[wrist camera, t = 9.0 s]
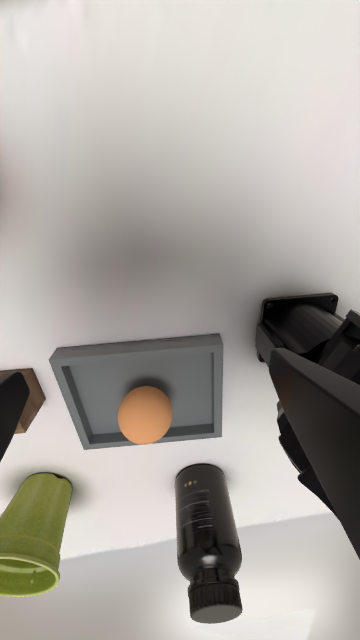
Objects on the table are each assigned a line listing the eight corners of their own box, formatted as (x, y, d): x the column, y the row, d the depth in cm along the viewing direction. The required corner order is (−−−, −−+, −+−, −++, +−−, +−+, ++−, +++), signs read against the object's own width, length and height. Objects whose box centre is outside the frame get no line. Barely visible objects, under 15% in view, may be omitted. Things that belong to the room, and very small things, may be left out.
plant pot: (28, 509, 33) (-14, 602, 26) (-4, 469, 29) (-66, 566, 21) (93, 500, 33) (71, 591, 25) (71, 458, 29) (36, 552, 21)
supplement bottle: (232, 481, 33) (264, 616, 22) (189, 497, 34) (200, 632, 23) (211, 455, 30) (236, 595, 19) (165, 473, 31) (164, 615, 21)
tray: (218, 334, 22) (223, 344, 20) (218, 423, 27) (221, 437, 26) (57, 348, 22) (48, 359, 20) (88, 435, 27) (84, 449, 26)
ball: (169, 372, 23) (171, 413, 19) (173, 409, 25) (176, 453, 21) (117, 377, 23) (107, 420, 18) (126, 414, 25) (119, 460, 21)
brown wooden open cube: (32, 368, 23) (7, 399, 19) (45, 399, 24) (25, 432, 21) (-10, 371, 23) (-43, 403, 19) (6, 402, 24) (-21, 437, 21)
